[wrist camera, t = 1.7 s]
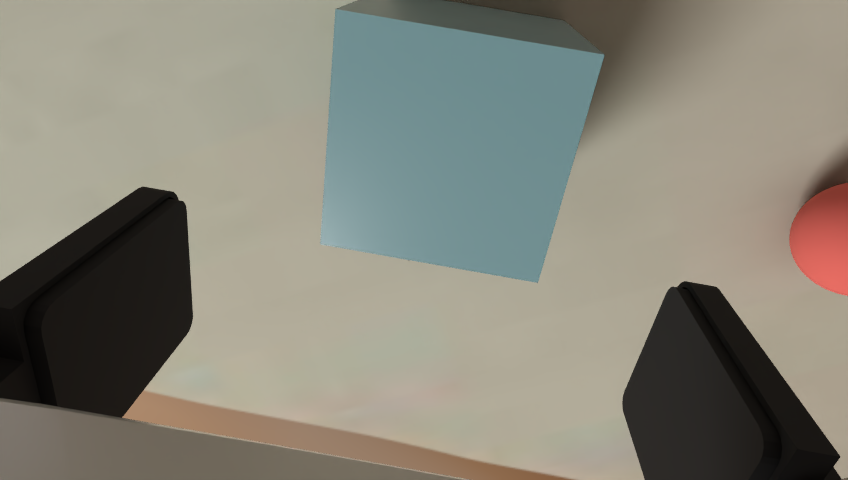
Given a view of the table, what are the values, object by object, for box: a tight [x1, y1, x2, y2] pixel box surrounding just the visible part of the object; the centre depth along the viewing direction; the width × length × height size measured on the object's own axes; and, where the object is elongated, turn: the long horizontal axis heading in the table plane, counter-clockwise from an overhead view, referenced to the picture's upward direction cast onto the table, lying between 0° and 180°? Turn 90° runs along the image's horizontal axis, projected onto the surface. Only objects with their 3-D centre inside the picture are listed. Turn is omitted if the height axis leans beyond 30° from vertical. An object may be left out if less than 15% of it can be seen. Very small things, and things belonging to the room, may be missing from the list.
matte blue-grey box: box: [320, 0, 604, 283], centre depth 21 cm, size 8×8×9 cm
